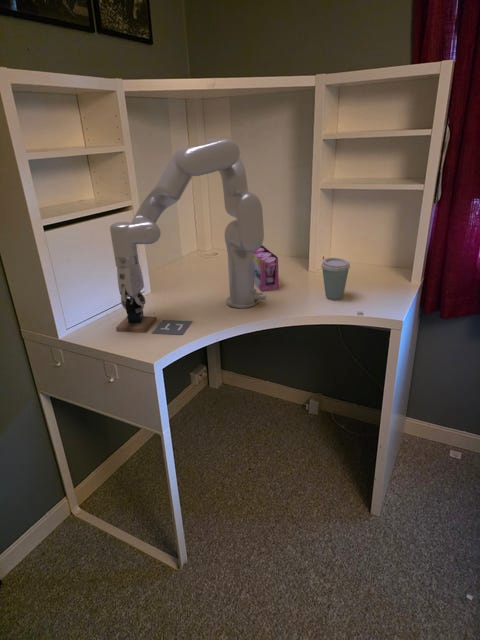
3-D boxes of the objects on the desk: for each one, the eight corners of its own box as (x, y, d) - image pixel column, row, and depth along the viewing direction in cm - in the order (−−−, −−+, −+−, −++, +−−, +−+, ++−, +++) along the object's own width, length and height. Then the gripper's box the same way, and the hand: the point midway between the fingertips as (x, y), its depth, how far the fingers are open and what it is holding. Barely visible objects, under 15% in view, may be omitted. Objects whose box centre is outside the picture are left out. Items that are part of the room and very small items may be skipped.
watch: (146, 322, 149) (142, 297, 142) (123, 323, 149) (118, 297, 142) (149, 312, 153) (144, 287, 146) (126, 313, 153) (121, 287, 146)
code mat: (192, 321, 152) (192, 320, 151) (182, 335, 142) (182, 334, 142) (163, 320, 154) (163, 319, 154) (151, 333, 144) (151, 332, 144)
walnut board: (157, 320, 154) (156, 316, 153) (146, 332, 145) (146, 328, 144) (129, 319, 156) (128, 315, 155) (116, 331, 147) (115, 327, 146)
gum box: (280, 290, 177) (280, 258, 171) (262, 292, 175) (261, 260, 169) (263, 273, 198) (263, 244, 192) (247, 275, 196) (246, 246, 191)
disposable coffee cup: (352, 295, 168) (354, 258, 162) (342, 304, 160) (344, 266, 154) (326, 291, 173) (328, 255, 167) (315, 299, 165) (317, 262, 159)
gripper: (126, 268, 132) (134, 322, 140) (147, 253, 147) (153, 302, 155) (104, 267, 134) (113, 320, 141) (127, 253, 149) (134, 302, 156)
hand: (134, 310), depth 148 cm, fingers closed on watch, 4 cm apart
